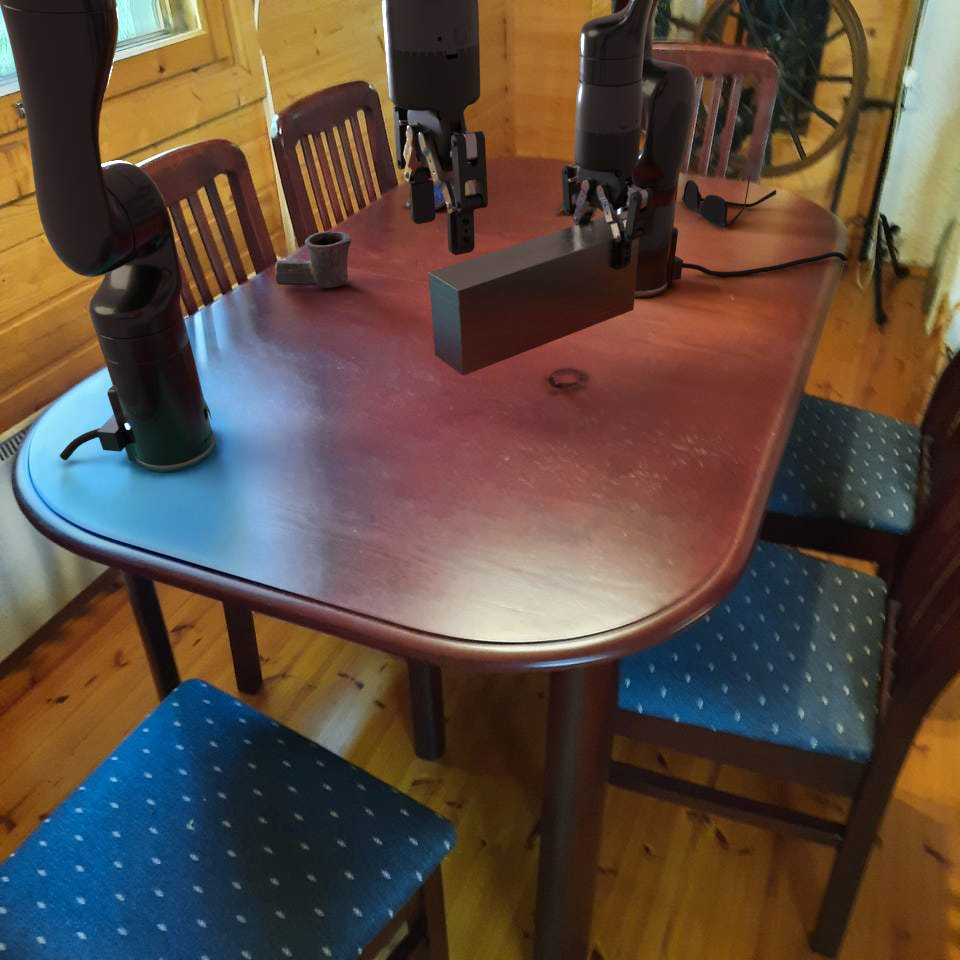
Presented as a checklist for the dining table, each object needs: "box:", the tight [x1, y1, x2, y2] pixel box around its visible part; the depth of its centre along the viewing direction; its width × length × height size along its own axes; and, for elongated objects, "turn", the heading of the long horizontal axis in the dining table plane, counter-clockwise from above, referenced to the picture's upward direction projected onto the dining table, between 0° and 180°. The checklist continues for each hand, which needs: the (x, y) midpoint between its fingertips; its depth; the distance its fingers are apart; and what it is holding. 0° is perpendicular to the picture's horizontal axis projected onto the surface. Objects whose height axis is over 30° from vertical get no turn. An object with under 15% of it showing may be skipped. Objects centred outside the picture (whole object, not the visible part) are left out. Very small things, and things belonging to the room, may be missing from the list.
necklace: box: [548, 368, 584, 389], centre depth 114 cm, size 4×6×1 cm, turn 151°
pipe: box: [274, 230, 352, 289], centre depth 138 cm, size 6×13×8 cm, turn 95°
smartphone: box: [406, 185, 455, 211], centre depth 174 cm, size 7×1×15 cm
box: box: [428, 216, 639, 377], centre depth 105 cm, size 27×6×11 cm, turn 125°
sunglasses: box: [681, 175, 777, 228], centre depth 163 cm, size 17×14×5 cm
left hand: (442, 236), depth 78 cm, fingers open, 8 cm apart
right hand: (601, 258), depth 108 cm, fingers closed on box, 6 cm apart
